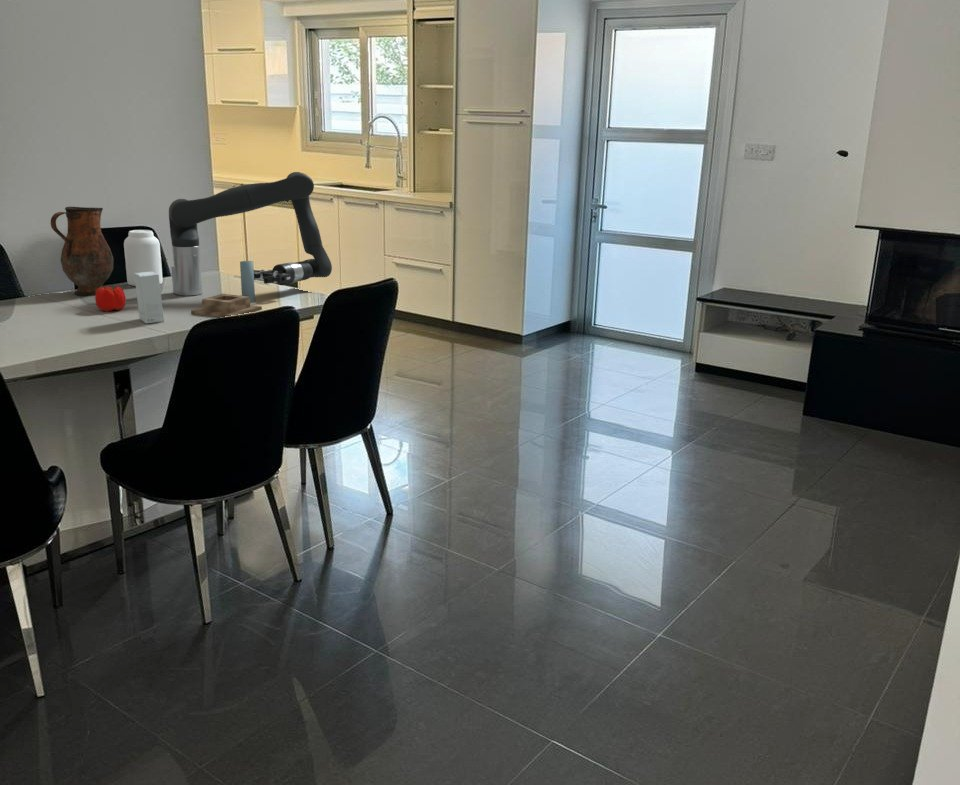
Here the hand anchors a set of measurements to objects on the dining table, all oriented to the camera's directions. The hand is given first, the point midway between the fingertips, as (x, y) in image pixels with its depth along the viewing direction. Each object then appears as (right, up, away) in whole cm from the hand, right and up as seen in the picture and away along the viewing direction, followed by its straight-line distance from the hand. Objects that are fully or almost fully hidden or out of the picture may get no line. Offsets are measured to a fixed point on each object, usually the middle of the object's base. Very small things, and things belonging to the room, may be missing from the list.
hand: (255, 279), depth 298 cm
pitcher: (-61, -5, +4) cm, 61 cm away
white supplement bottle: (-48, +1, +25) cm, 54 cm away
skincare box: (-24, -17, -32) cm, 44 cm away
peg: (-2, -8, -1) cm, 8 cm away
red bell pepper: (-42, -13, -19) cm, 48 cm away
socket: (-5, -13, -16) cm, 21 cm away
